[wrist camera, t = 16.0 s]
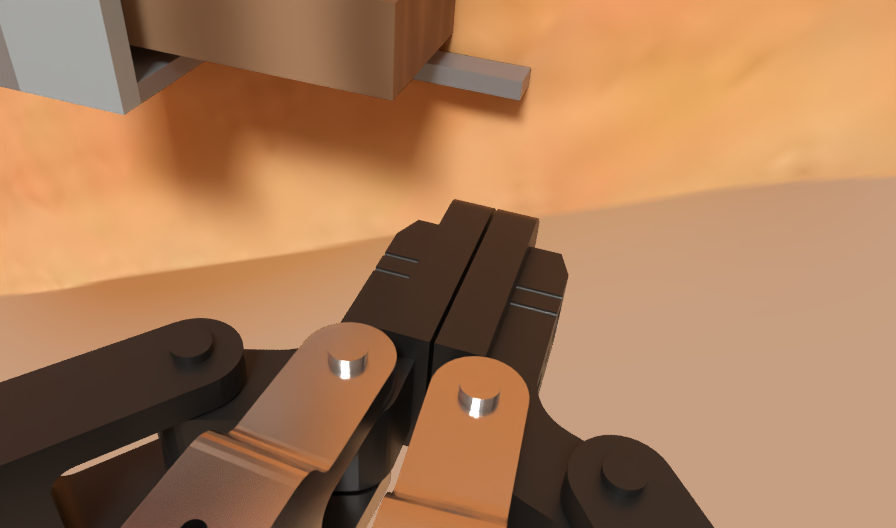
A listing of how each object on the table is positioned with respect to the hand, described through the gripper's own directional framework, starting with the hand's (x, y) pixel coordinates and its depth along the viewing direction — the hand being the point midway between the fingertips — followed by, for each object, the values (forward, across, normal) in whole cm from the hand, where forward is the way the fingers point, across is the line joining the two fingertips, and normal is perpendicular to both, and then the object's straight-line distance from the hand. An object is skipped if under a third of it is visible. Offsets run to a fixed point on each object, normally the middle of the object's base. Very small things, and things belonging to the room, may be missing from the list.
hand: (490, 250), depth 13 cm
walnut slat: (+19, +13, +2) cm, 23 cm away
